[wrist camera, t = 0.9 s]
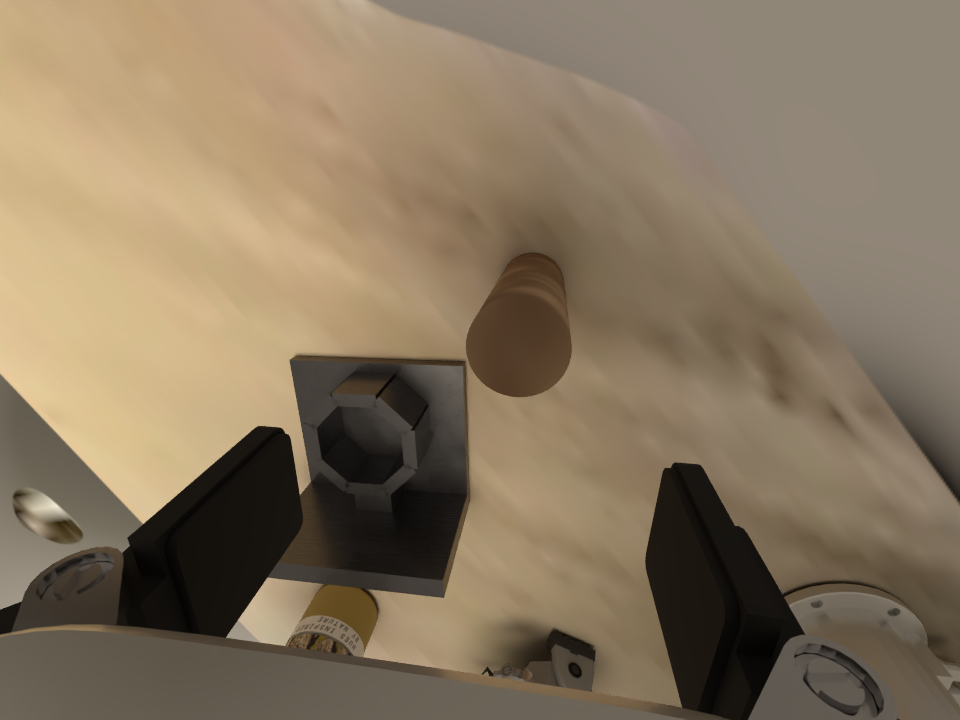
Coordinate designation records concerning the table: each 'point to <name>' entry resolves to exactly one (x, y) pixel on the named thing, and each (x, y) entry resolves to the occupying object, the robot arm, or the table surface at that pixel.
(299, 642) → the paper tube
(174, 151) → the table surface
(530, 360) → the brown wooden cylinder
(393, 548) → the bracket
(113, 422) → the table surface
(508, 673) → the figurine
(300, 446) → the table surface
